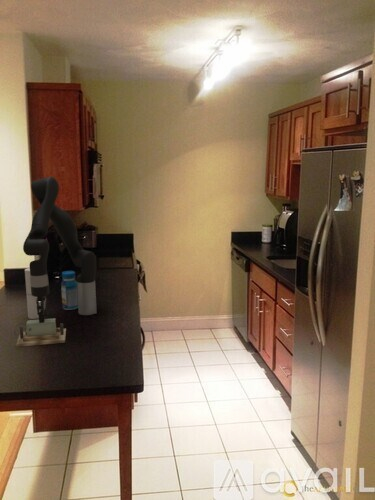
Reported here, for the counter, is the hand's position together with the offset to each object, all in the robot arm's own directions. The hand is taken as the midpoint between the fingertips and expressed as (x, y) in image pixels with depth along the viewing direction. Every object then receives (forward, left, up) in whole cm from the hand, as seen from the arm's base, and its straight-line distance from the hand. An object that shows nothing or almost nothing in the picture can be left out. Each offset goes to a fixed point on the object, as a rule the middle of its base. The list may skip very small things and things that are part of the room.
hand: (42, 319), depth 194 cm
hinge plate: (+1, 0, -9) cm, 9 cm away
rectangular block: (+1, 0, -8) cm, 8 cm away
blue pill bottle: (-10, -41, -9) cm, 43 cm away
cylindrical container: (+7, -31, -9) cm, 33 cm away
